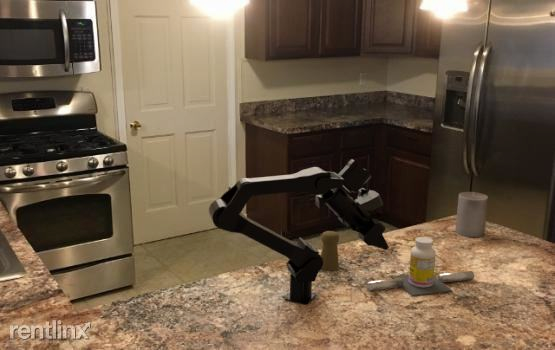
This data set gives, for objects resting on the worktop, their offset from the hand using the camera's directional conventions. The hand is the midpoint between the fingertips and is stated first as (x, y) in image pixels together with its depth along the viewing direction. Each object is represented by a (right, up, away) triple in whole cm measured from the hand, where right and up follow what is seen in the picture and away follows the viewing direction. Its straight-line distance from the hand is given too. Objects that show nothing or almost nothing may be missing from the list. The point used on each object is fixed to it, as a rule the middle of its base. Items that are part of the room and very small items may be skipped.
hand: (379, 242), depth 149 cm
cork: (-12, -10, +17) cm, 23 cm away
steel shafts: (+13, -12, +7) cm, 19 cm away
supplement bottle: (+12, -12, +7) cm, 19 cm away
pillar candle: (+40, -3, +48) cm, 63 cm away
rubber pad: (+13, -12, +7) cm, 19 cm away
